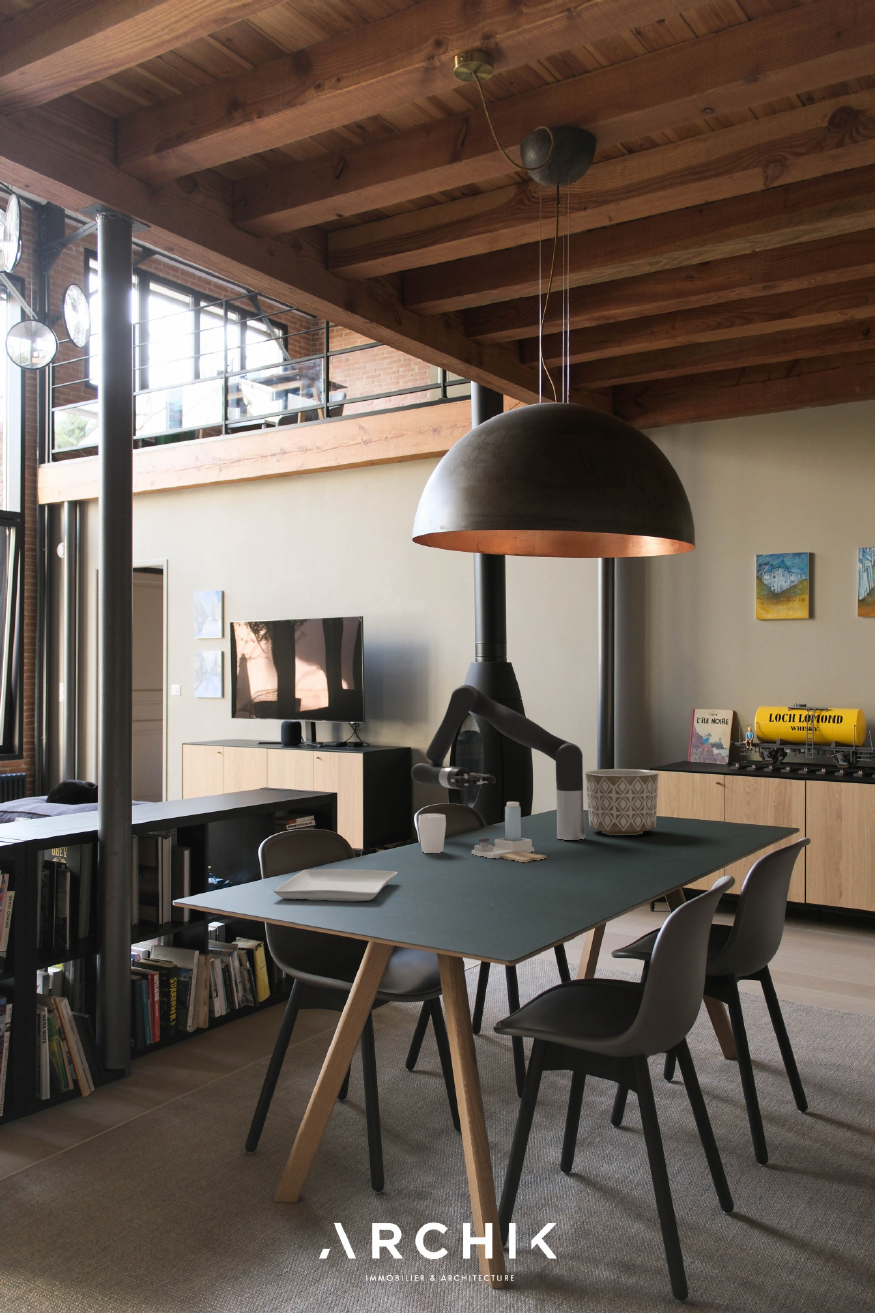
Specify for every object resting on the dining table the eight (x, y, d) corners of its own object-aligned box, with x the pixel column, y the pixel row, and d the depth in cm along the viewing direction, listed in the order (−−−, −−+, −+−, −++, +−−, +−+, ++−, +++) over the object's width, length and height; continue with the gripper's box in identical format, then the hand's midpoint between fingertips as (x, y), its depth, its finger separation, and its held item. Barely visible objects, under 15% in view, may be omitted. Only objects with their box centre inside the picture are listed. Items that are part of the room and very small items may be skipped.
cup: (444, 855, 316) (443, 817, 316) (416, 854, 317) (415, 817, 317) (448, 850, 325) (447, 813, 325) (421, 849, 326) (420, 813, 326)
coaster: (523, 854, 315) (523, 851, 315) (546, 858, 307) (546, 855, 307) (500, 858, 309) (500, 855, 309) (523, 862, 301) (523, 859, 301)
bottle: (513, 845, 324) (513, 801, 324) (524, 847, 320) (523, 802, 320) (502, 847, 321) (501, 802, 321) (512, 849, 317) (512, 803, 317)
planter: (595, 839, 343) (594, 776, 344) (579, 828, 369) (578, 769, 369) (669, 837, 345) (667, 774, 346) (647, 827, 371) (646, 768, 372)
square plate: (303, 881, 278) (303, 868, 278) (398, 884, 274) (398, 870, 274) (272, 903, 251) (272, 888, 251) (377, 906, 247) (377, 890, 247)
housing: (512, 848, 327) (512, 836, 327) (534, 852, 319) (533, 839, 319) (471, 854, 316) (471, 842, 316) (492, 859, 308) (492, 846, 308)
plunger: (484, 849, 317) (484, 836, 317) (491, 850, 315) (491, 838, 315) (476, 850, 315) (476, 838, 315) (483, 851, 313) (483, 839, 313)
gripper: (438, 768, 339) (469, 771, 327) (470, 765, 348) (501, 768, 336) (438, 790, 339) (469, 793, 326) (470, 786, 348) (501, 790, 335)
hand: (485, 781), depth 331 cm, fingers open, 8 cm apart
